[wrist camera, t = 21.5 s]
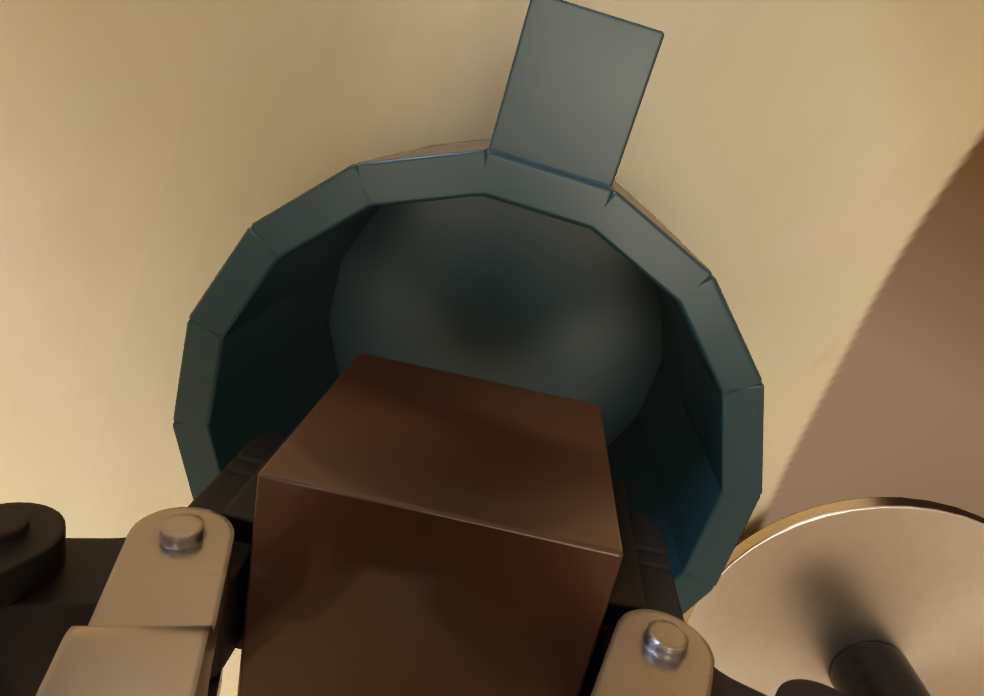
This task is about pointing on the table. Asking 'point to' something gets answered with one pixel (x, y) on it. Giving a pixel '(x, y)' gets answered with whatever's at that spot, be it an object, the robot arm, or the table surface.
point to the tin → (502, 294)
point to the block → (431, 541)
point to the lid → (854, 601)
